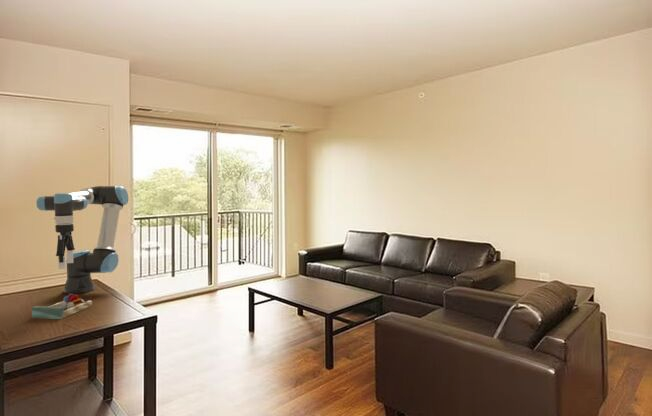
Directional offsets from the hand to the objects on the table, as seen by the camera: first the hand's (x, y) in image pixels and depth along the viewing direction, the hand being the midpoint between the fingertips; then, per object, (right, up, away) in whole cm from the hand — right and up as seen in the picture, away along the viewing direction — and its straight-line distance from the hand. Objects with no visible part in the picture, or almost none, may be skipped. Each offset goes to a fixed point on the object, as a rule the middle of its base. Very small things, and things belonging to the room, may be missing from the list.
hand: (66, 265), depth 194 cm
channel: (+2, -22, -4) cm, 22 cm away
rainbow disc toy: (+3, -22, +1) cm, 22 cm away
